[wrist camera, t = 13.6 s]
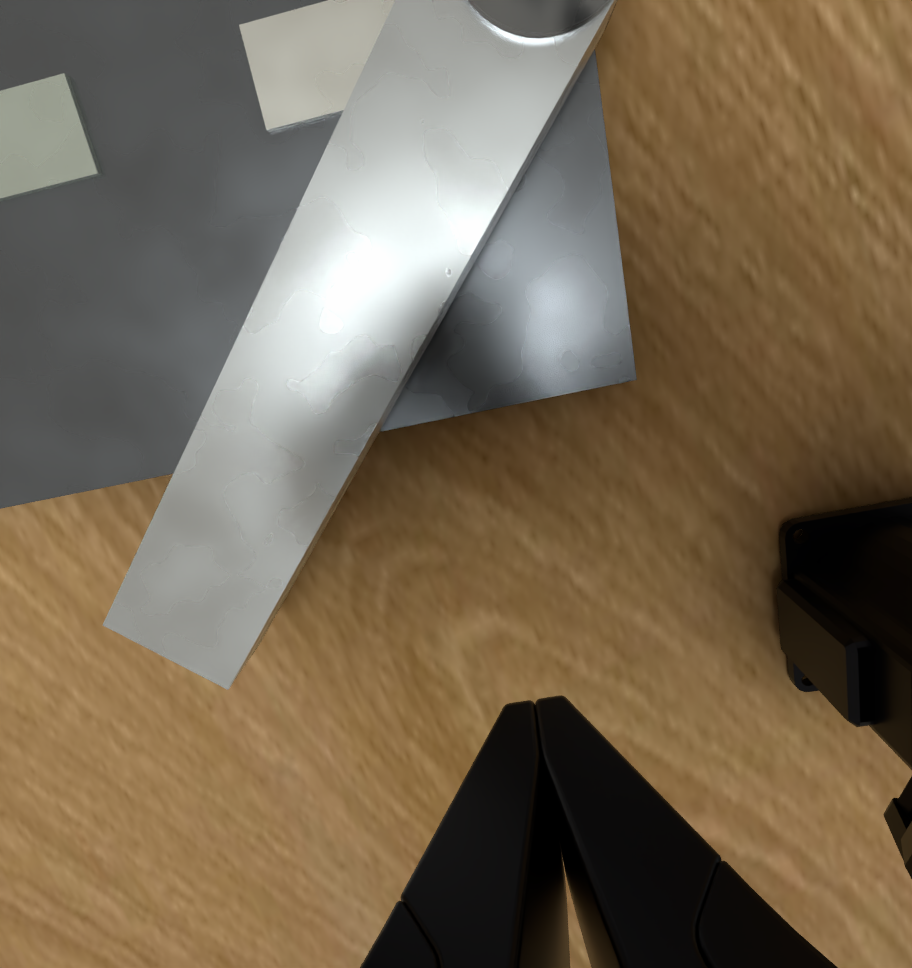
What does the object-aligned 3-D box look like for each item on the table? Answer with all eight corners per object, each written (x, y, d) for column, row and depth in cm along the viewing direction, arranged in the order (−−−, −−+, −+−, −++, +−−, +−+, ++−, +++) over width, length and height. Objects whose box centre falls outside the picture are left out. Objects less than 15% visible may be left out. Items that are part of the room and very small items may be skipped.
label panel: (543, -259, 14) (550, -320, 13) (626, 376, 19) (638, 380, 17) (-252, -14, 17) (-317, -44, 15) (-21, 507, 21) (-56, 520, 19)
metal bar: (506, -148, 14) (513, -266, 11) (648, -46, 14) (688, -135, 11) (150, 586, 19) (95, 630, 16) (259, 644, 19) (224, 696, 17)
